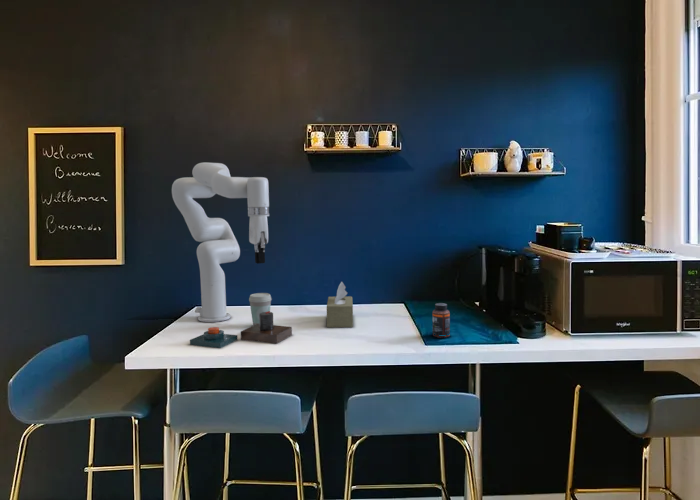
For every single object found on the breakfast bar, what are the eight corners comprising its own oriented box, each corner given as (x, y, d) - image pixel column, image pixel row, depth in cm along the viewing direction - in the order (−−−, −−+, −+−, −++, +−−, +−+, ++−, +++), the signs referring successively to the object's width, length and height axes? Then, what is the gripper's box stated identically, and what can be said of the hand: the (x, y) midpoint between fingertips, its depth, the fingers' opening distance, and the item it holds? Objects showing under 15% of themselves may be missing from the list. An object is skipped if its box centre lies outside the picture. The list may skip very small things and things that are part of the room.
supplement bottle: (450, 334, 177) (451, 302, 176) (448, 339, 171) (448, 306, 170) (433, 333, 179) (434, 301, 178) (430, 337, 173) (431, 305, 172)
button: (206, 334, 169) (205, 329, 169) (212, 331, 172) (212, 326, 172) (215, 335, 168) (214, 330, 168) (221, 332, 171) (221, 327, 171)
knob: (269, 331, 172) (268, 314, 172) (257, 330, 174) (256, 313, 173) (276, 327, 177) (275, 311, 176) (264, 326, 178) (263, 310, 178)
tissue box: (353, 327, 188) (352, 285, 186) (326, 327, 188) (326, 286, 186) (352, 315, 206) (352, 277, 205) (328, 315, 206) (328, 277, 205)
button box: (189, 344, 168) (189, 334, 168) (208, 336, 177) (208, 327, 177) (220, 348, 164) (219, 337, 163) (237, 340, 173) (237, 330, 173)
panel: (240, 339, 173) (240, 331, 173) (257, 331, 183) (257, 323, 183) (276, 343, 168) (276, 334, 168) (292, 335, 178) (291, 326, 178)
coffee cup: (253, 330, 186) (252, 298, 184) (246, 324, 193) (245, 294, 192) (275, 327, 190) (274, 295, 188) (268, 322, 197) (267, 291, 196)
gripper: (243, 211, 185) (245, 261, 187) (253, 213, 171) (254, 266, 173) (263, 211, 188) (265, 260, 190) (274, 212, 174) (275, 264, 176)
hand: (260, 263), depth 182 cm, fingers closed
